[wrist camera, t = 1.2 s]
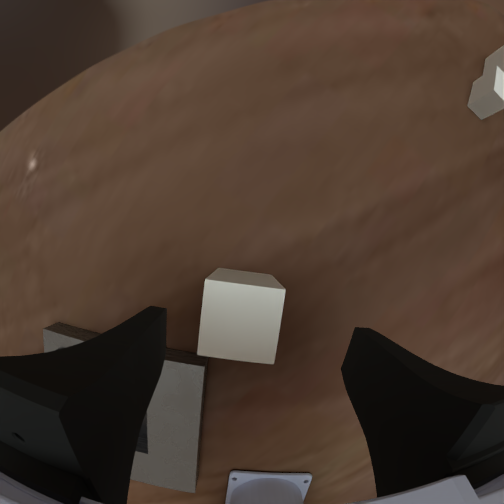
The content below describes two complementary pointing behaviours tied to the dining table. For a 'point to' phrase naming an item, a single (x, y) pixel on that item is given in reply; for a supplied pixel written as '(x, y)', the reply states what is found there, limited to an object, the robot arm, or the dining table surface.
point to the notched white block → (489, 87)
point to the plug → (241, 316)
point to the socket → (160, 414)
